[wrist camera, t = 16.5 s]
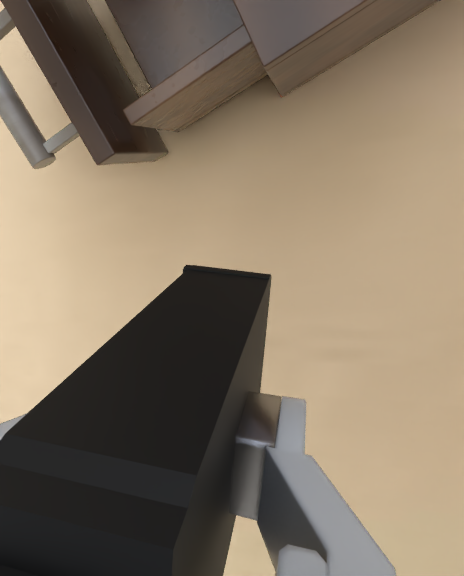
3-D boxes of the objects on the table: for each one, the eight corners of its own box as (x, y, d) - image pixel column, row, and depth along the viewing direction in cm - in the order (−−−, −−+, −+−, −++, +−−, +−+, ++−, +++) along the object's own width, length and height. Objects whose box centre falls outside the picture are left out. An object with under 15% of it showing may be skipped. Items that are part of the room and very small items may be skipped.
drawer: (102, 194, 27) (31, 209, 20) (7, 34, 24) (-110, -11, 18) (349, 40, 21) (365, -13, 14) (255, -194, 18) (220, -392, 12)
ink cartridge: (192, 258, 11) (-92, 506, 3) (273, 268, 10) (164, 576, 3) (188, 403, 12) (-1, 780, 5) (257, 417, 12) (163, 846, 5)
